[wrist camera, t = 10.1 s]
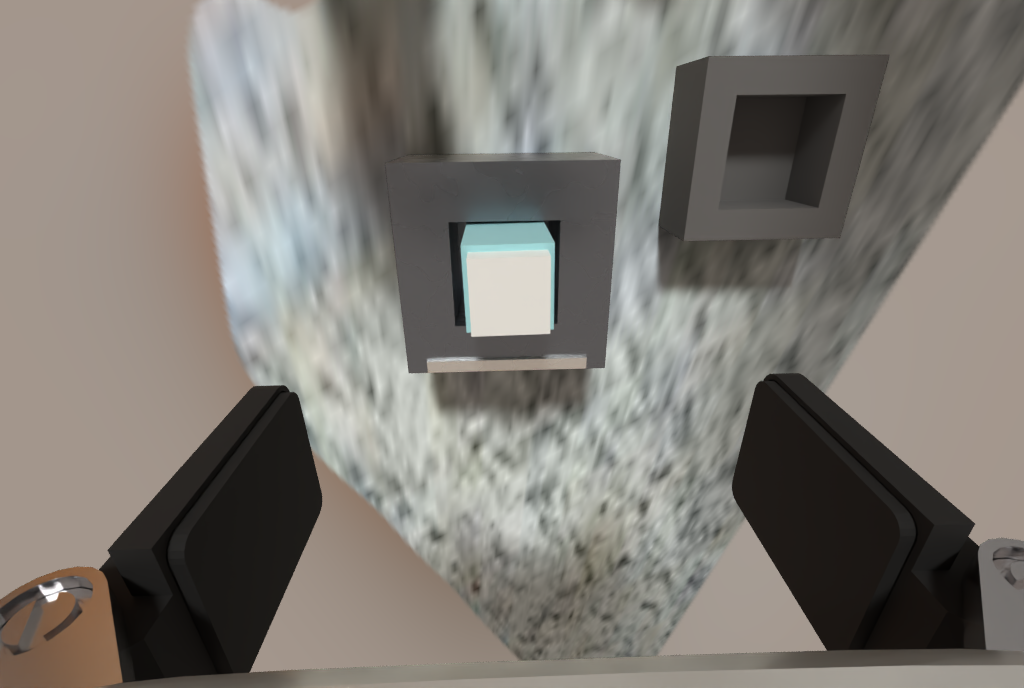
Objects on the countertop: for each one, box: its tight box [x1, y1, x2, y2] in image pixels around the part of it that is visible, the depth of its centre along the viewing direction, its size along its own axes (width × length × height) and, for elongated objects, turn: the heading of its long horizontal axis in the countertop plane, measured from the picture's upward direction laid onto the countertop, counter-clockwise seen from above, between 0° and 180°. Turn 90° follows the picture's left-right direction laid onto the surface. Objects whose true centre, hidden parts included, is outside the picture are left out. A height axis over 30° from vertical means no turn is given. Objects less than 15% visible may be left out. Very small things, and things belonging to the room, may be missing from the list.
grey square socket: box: [659, 55, 890, 241], centre depth 24 cm, size 8×8×4 cm
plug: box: [461, 221, 555, 337], centre depth 22 cm, size 4×4×10 cm
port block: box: [385, 152, 621, 373], centre depth 25 cm, size 10×10×6 cm
